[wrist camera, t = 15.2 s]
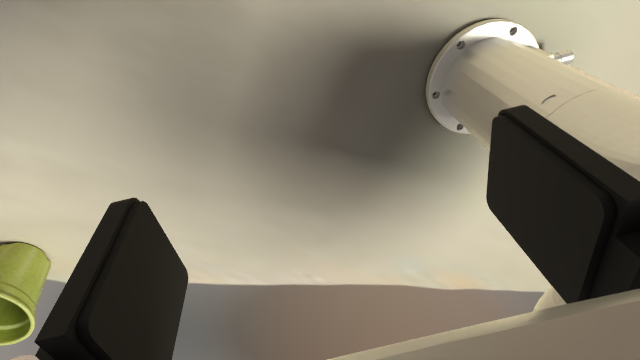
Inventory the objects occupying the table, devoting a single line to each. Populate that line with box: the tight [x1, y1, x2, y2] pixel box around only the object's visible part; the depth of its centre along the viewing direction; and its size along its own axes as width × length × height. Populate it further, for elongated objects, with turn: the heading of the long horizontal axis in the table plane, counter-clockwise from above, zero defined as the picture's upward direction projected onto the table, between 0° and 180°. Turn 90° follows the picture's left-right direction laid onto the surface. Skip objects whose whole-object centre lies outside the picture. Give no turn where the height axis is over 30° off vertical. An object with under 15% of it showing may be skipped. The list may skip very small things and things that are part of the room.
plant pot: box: [0, 243, 51, 346], centre depth 43 cm, size 9×9×9 cm
